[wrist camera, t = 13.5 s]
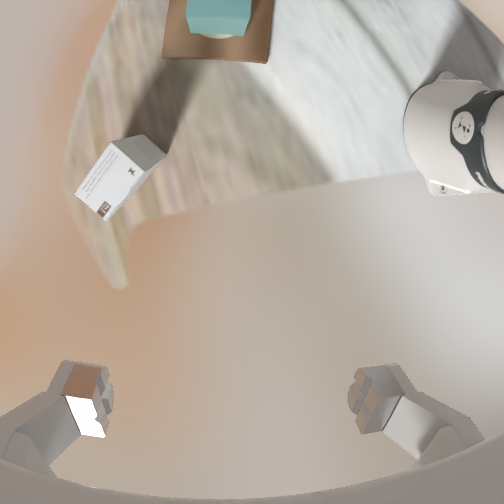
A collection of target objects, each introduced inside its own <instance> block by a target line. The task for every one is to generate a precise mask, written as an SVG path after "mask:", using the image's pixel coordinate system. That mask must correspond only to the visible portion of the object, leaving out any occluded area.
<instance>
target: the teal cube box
mask: <svg viewBox="0 0 504 504" xmlns="http://www.w3.org/2000/svg"><path fill="white" fill-rule="evenodd" d="M250 9H251V0H188V1H187V7H186V14H185V15H186V18H187V22H188V25H189V29H190V33H198V34H221V35H235V36H244V34H245V30H246V27H247V24H248V21H249V17H250Z"/></svg>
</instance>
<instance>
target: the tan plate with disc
mask: <svg viewBox="0 0 504 504" xmlns="http://www.w3.org/2000/svg"><path fill="white" fill-rule="evenodd" d="M187 1H188V0H170V2H169V8H168V14H167V21H166V28H165V35H164V42H163V50H162V57H163V59H169V58H181V59H215V60H231V61H244V62H254V63H263V64H266V63H267V61H268V51H269V40H270V30H271V19H272V9H273V0H251V9H250V17H249V21H248V24H247V27H246V30H245V34H244V36H235V35H221V34H198V33H190V29H189V25H188V22H187V18H186V15H185V14H186V7H187Z"/></svg>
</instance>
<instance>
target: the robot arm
mask: <svg viewBox="0 0 504 504" xmlns="http://www.w3.org/2000/svg"><path fill="white" fill-rule="evenodd" d="M404 139H405V144H406V148H407V151H408V153H409V156H410V158H411V160H412V162H413V163H414V165H415V166H416V167H417V169H418V170H419V171H420V172H421V173H422V175H423V176H424V179H425V182H426V186H427V189H428V191H429V193H430V194H431V195H435V196H445V195H459V194H472V193H487V192H497V193H503V194H504V91H503V90H495V89H494V90H491V89H490V88H489V87H487V86H485V85H483V83H482V82H481V81H478V80H461V79H460V78H459V77H457V76H456V75H454V74H453V73H451V72H449V71H443V72H442V73H440V75H439V76H438V77H437V78H436V80H435V81H434V82H433V83H431V84H428V85H426V86H423V87H422V88H420V89H419V90H418V91H417V92H416V93H415V94H414V95H413V96H412V98H411V99H410V101H409V103H408V106H407V108H406V112H405V116H404ZM441 186H442V189H441ZM108 378H109V372H108V368H107V367H106V366H102V365H94V364H88V363H82V362H74V361H69V360H64V361H62V362H61V364H60V366H59V368H58V370H57V372H56V374H55V375H54V377H53V379H52V381H51V383H50V385H49V388H48V389H47V392H41V393H40V394H38V395H36V396H35V397H33V398H31V399H30V400H28V401H26V402H25V403H23V404H21V405H20V406H18V407H16V408H15V409H13V410H11V411H10V412H8V413H7V414H5V415H3V416H2V417H0V504H504V431H502V432H500V433H498V434H496V435H494V436H492V437H490V438H488V439H486V440H485V438H484V437H483V435H482V434H481V433H480V431H479V430H478V428H477V427H476V425H475V424H474V423H473V421H472V420H471V418H470V417H468V416H466V415H464V414H462V413H460V412H458V411H456V410H454V409H453V408H450V407H449V406H447V405H445V404H443V403H441V402H439V401H437V400H435V399H434V398H432V397H430V396H428V395H426V394H424V393H422V392H417V390H416V389H415V388H414V386H413V385H412V383H411V382H410V380H409V379H408V377H407V376H406V374H405V373H404V371H403V370H402V368H401V367H400V365H398V364H397V363H394V364H387V365H380V366H373V367H364V368H358V370H357V371H356V372H355V375H354V378H355V380H356V381H355V382H354V383H353V384H352V385H351V386H350V388H349V391H348V404H349V407H350V409H351V411H352V412H353V413H355V414H356V415H357V417H356V420H355V421H356V423H357V426H358V428H359V430H360V432H361V434H367V433H373V432H378V431H383V433H385V434H386V435H387V436H389V437H390V438H391V439H392V440H393V441H395V442H396V443H397V444H398V445H400V446H401V447H402V448H404V449H405V450H406V451H407V452H409V453H410V454H411V455H413V456H414V457H415V458H416V459H418V460H417V462H416V463H415V464H414V465H413V466H412V468H411V469H410V470H408V471H404V472H401V473H398V474H395V475H391V476H388V477H384V478H380V479H376V480H372V481H368V482H364V483H360V484H355V485H350V486H346V487H341V488H335V489H330V490H325V491H318V492H311V493H304V494H296V495H288V496H278V497H266V498H250V499H187V498H170V497H159V496H150V495H149V496H148V495H141V494H133V493H126V492H120V491H114V490H108V489H103V488H98V487H93V486H88V485H84V484H79V483H75V482H71V481H67V480H63V479H60V478H57V476H56V475H55V473H54V472H53V471H52V469H51V468H50V467H49V465H50V464H51V463H52V462H53V461H54V460H55V459H56V458H57V457H58V456H59V455H60V454H61V453H62V452H63V451H65V450H66V449H67V448H68V447H69V446H70V445H71V444H72V443H73V442H74V441H75V440H76V439H77V438H78V437H79V436H80V435H81V434H87V435H94V436H100V437H105V435H106V431H107V427H108V424H109V421H108V418H107V415H108V414H109V413H111V412H112V408H113V403H114V392H113V387H112V385H111V384H110V383H109V382H108Z"/></svg>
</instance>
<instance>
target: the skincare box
mask: <svg viewBox="0 0 504 504" xmlns="http://www.w3.org/2000/svg"><path fill="white" fill-rule="evenodd" d="M165 157H166V154H165V153H164V152H163V151H162V150H161V149H160V148H159V147H157V146H156V145H155V144H154V143H153V142H152V141H151V140H150V139H148V138H147V137H146V136H145V135H144V134H141V135H136V136H132V137H128V138H124V139H120V140H116V141H112V142H110V144H109V145H108V146H107V148H106V149H105V150H104V152H103V153H102V154H101V156H100V157H99V159H98V160H97V161H96V163H95V164H94V165H93V167H92V168H91V170H90V171H89V173H88V174H87V175H86V177H85V178H84V180H83V181H82V183H81V184H80V186H79V187H78V189H77V191H76V192H75V195H77V196H78V197H79V198H80V199H81V200H82V201H84V202H85V203H86V204H87V205H88V206H89V207H90V208H92V209H93V210H94V211H95V212H96V213H97V214H98V215H100V216H101V217H102V218H103V219H104V220H105V221H107V220H108V219H109V218H110V217H111V216H112V215H113V214H114V213H115V212H116V211H117V210H118V209H119V208H120V207H121V206H122V205H123V204H124V203H125V202H126V201H127V200H128V199H129V198H130V197H131V196H132V195H133V194H134V193H135V192H136V191H137V190H138V189H139V188H140V186H141V185H142V184H143V183H144V182H145V181H146V179H147V178H148V177H149V176H150V175H151V174H152V172H153V171H154V170H155V169H156V168H157V167H158V165H159V164H160V163H161V162H162V161H163V160H164V158H165Z"/></svg>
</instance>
